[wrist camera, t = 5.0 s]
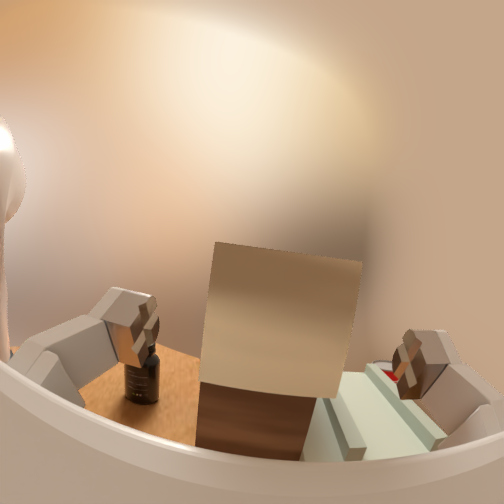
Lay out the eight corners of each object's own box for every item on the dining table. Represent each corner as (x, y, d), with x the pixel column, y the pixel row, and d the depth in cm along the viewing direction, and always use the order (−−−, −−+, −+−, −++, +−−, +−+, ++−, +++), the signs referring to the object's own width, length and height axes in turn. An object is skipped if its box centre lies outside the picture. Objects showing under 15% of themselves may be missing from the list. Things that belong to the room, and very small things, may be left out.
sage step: (370, 560, 12) (458, 434, 13) (259, 567, 13) (309, 447, 13) (344, 474, 29) (382, 364, 30) (266, 472, 30) (291, 357, 31)
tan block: (335, 398, 6) (362, 262, 6) (198, 380, 7) (215, 241, 7) (287, 295, 30) (292, 262, 30) (255, 290, 30) (259, 258, 31)
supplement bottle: (130, 385, 50) (131, 332, 50) (161, 392, 50) (164, 339, 51) (120, 400, 43) (119, 342, 43) (154, 408, 43) (157, 350, 44)
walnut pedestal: (260, 557, 14) (332, 328, 15) (190, 546, 15) (208, 311, 16) (266, 472, 30) (302, 296, 31) (216, 465, 31) (240, 287, 32)
